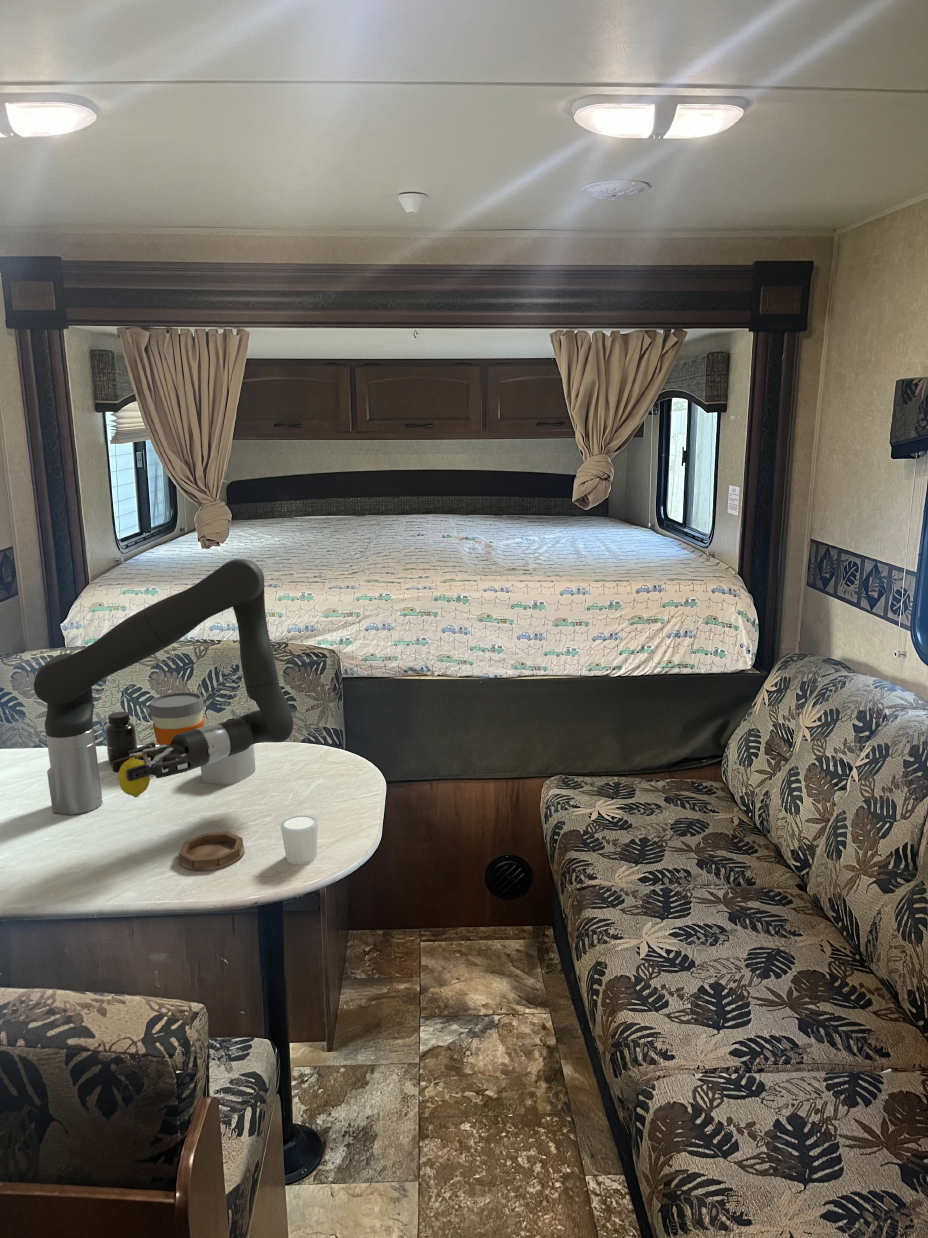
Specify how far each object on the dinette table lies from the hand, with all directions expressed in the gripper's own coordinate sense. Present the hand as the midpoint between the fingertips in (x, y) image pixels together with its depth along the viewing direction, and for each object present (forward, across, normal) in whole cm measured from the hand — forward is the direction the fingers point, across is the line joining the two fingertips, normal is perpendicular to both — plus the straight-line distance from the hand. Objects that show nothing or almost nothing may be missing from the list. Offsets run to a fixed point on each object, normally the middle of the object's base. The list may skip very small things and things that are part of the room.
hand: (120, 771), depth 162 cm
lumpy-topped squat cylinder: (-34, -20, +17) cm, 43 cm away
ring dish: (-10, +13, +16) cm, 23 cm away
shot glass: (-21, +27, +17) cm, 38 cm away
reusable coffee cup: (-32, -38, +17) cm, 52 cm away
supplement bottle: (-21, -47, +17) cm, 55 cm away
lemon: (-3, 0, +6) cm, 7 cm away
